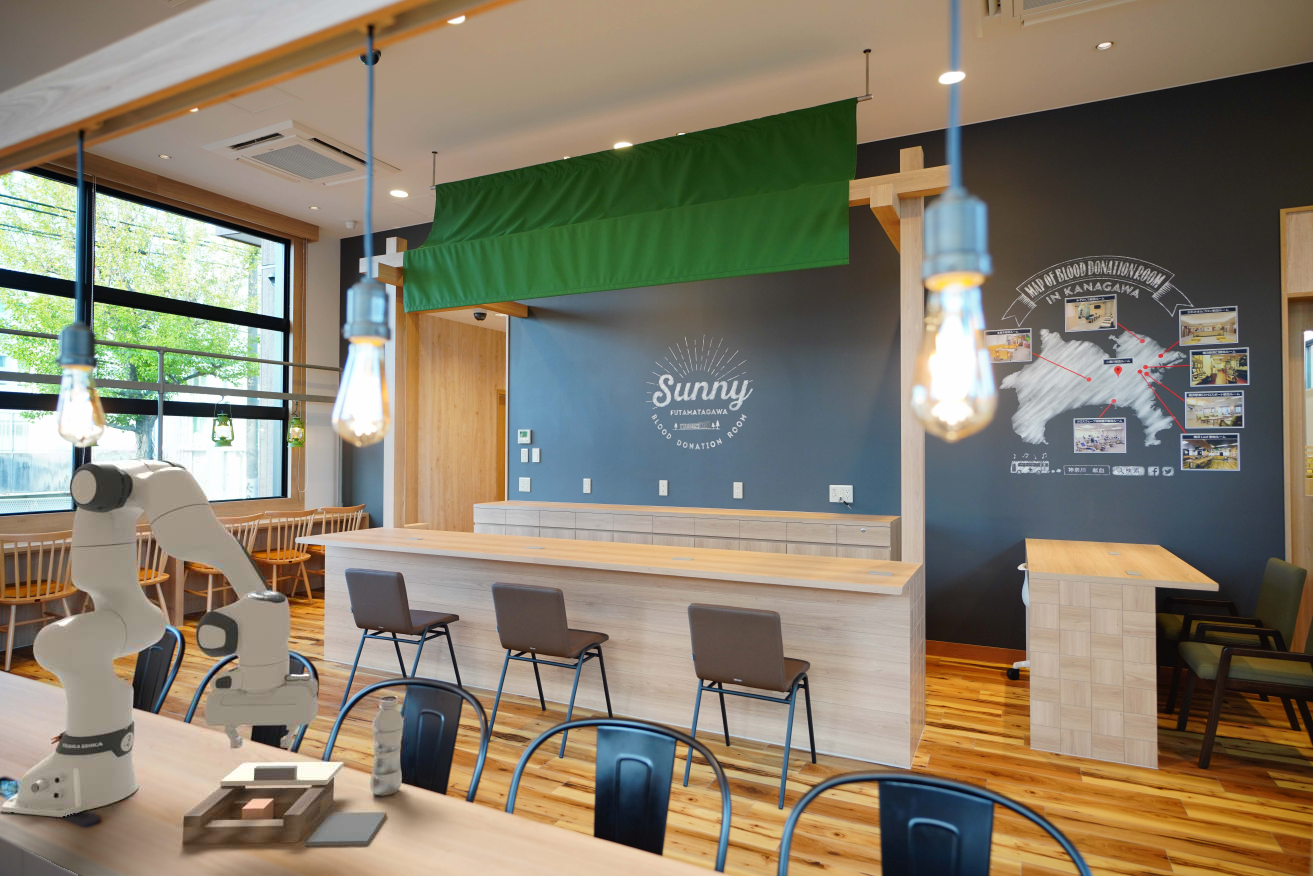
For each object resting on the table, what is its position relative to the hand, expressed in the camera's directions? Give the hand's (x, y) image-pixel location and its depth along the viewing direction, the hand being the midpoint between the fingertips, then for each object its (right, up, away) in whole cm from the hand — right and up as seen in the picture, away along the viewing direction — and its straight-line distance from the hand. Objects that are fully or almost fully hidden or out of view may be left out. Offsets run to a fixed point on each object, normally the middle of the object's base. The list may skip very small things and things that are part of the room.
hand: (261, 747), depth 137 cm
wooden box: (0, -15, +1) cm, 15 cm away
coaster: (+18, -15, -2) cm, 24 cm away
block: (0, -15, -1) cm, 15 cm away
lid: (-1, -11, +10) cm, 15 cm away
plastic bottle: (+19, -16, +14) cm, 29 cm away
